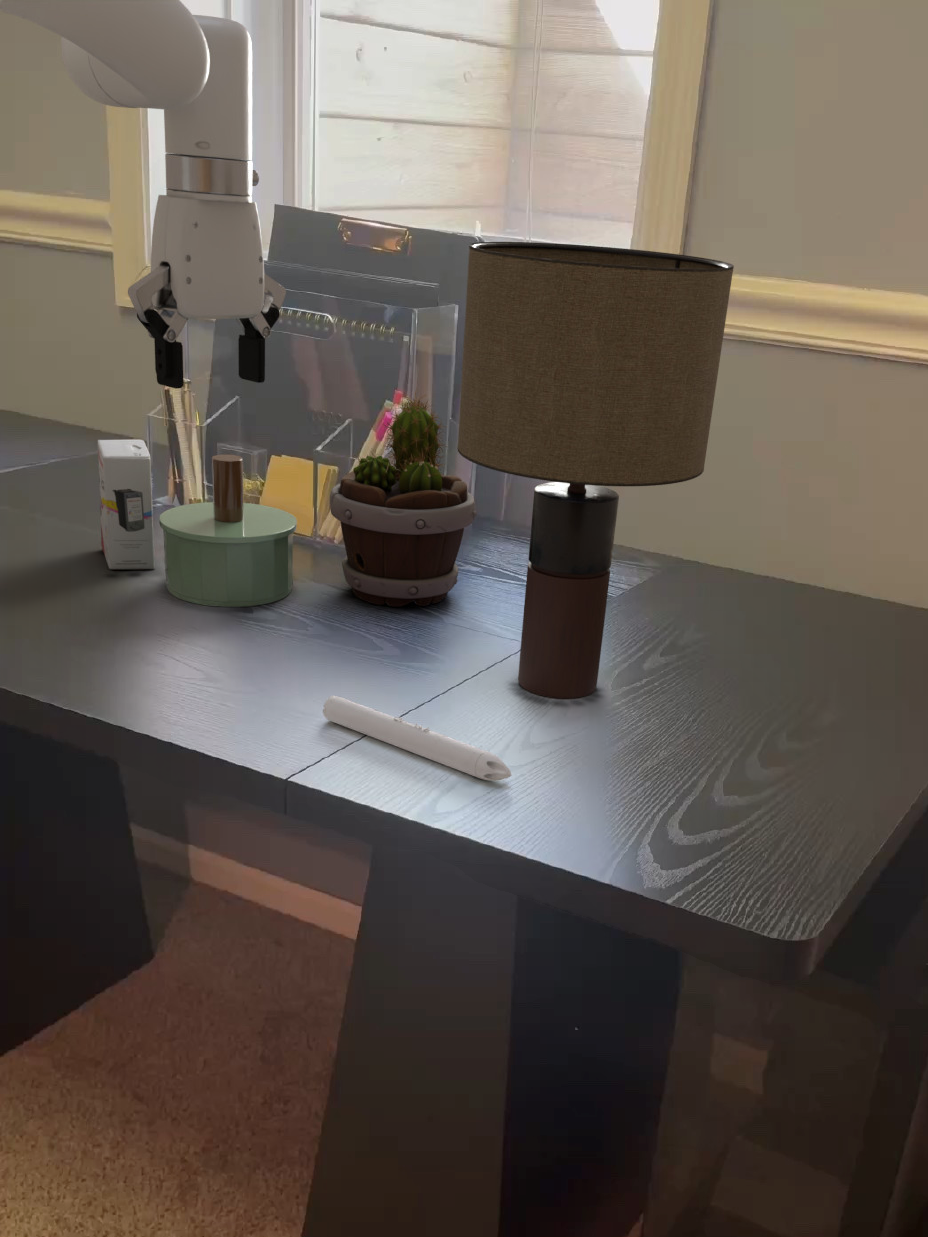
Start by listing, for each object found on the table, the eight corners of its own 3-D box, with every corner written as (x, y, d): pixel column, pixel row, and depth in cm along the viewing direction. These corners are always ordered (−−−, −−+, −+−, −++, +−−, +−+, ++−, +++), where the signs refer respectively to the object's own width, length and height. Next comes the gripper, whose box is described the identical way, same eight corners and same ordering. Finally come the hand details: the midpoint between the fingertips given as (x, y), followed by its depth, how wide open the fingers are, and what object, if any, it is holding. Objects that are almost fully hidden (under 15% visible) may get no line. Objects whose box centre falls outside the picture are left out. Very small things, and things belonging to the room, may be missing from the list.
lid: (168, 551, 123) (165, 474, 120) (152, 514, 134) (148, 442, 131) (309, 547, 127) (310, 473, 124) (282, 512, 139) (282, 442, 135)
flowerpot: (441, 625, 127) (453, 414, 118) (301, 599, 132) (302, 393, 122) (491, 587, 140) (506, 393, 130) (361, 564, 144) (366, 374, 134)
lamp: (715, 693, 116) (785, 267, 100) (567, 749, 103) (619, 269, 86) (549, 631, 128) (586, 242, 112) (397, 673, 115) (414, 240, 99)
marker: (518, 784, 97) (521, 755, 96) (502, 792, 95) (504, 763, 94) (339, 716, 106) (340, 689, 105) (322, 723, 104) (322, 695, 103)
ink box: (101, 548, 143) (93, 437, 137) (148, 547, 144) (142, 438, 139) (108, 571, 135) (100, 456, 130) (157, 570, 137) (152, 456, 131)
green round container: (175, 609, 126) (172, 543, 123) (160, 571, 137) (156, 509, 134) (303, 604, 130) (303, 540, 127) (278, 567, 141) (278, 507, 138)
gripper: (256, 182, 123) (256, 372, 131) (100, 172, 111) (111, 381, 119) (310, 188, 119) (306, 384, 127) (154, 178, 107) (161, 395, 115)
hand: (212, 382), depth 123 cm, fingers open, 9 cm apart
